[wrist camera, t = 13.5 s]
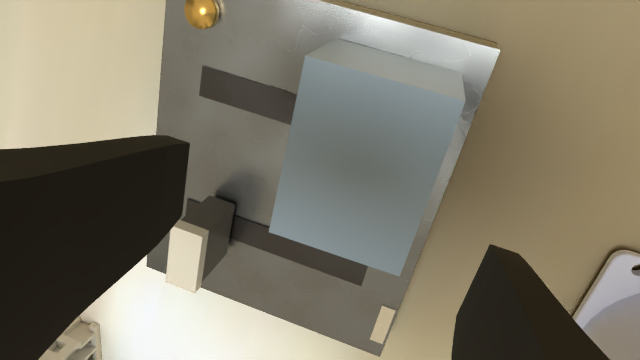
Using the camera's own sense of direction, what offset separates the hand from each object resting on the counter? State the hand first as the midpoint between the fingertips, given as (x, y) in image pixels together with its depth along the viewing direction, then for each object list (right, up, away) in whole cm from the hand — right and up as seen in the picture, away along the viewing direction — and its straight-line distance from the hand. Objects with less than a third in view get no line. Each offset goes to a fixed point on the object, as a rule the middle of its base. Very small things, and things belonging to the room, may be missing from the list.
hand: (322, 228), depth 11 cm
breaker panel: (-1, +2, +10) cm, 10 cm away
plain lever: (-5, -1, +10) cm, 11 cm away
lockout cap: (+2, +3, +6) cm, 7 cm away
